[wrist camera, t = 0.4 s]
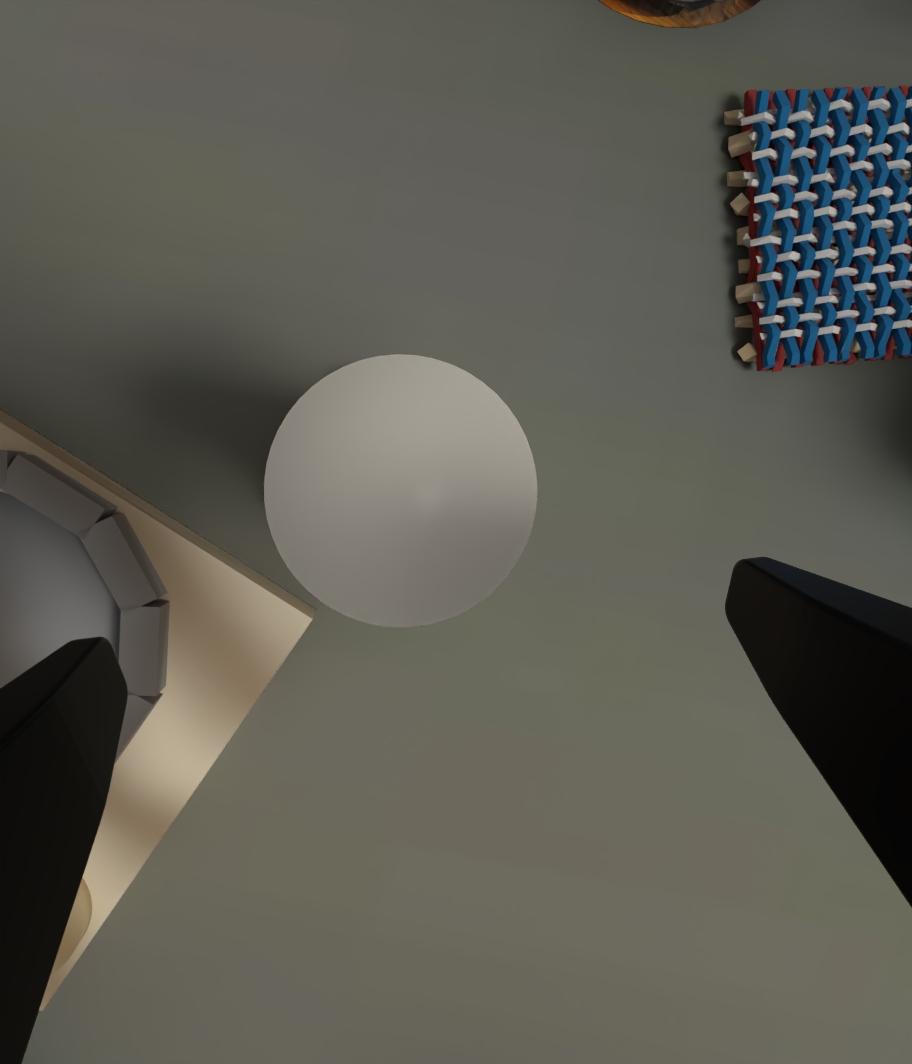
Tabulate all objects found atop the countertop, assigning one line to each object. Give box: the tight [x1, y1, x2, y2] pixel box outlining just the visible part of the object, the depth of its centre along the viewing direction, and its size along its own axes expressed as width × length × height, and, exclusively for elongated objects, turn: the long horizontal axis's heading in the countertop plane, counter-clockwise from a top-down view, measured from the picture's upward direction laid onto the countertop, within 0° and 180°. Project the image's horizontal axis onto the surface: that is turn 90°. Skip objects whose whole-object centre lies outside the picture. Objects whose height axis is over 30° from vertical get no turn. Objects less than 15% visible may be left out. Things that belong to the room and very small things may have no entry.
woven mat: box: [724, 86, 912, 372], centre depth 24 cm, size 10×11×2 cm
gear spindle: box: [264, 354, 537, 627], centre depth 17 cm, size 8×8×12 cm
